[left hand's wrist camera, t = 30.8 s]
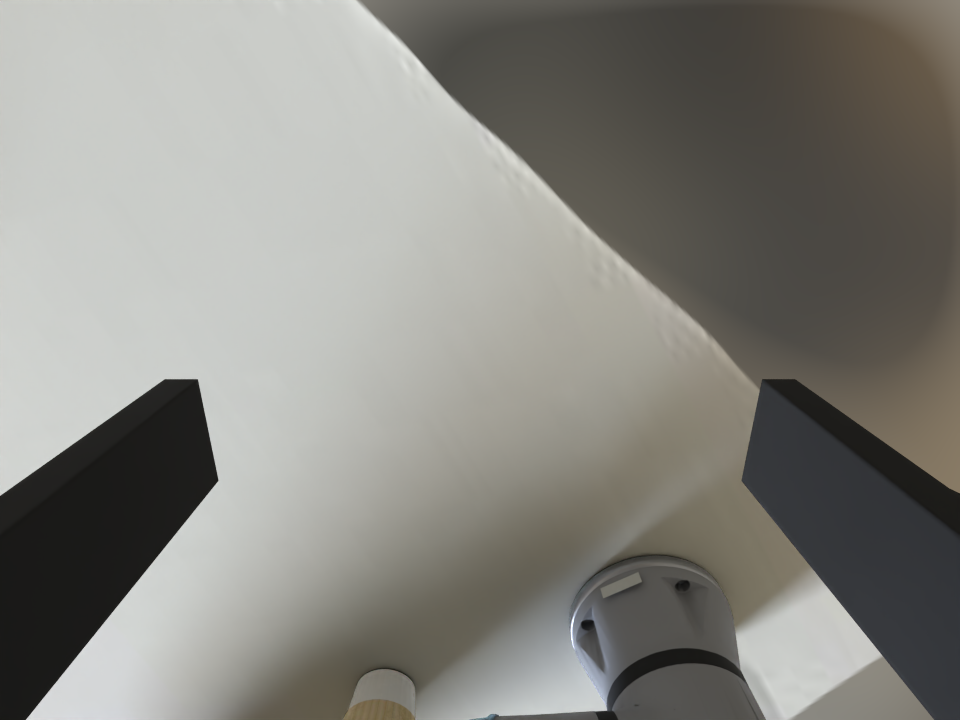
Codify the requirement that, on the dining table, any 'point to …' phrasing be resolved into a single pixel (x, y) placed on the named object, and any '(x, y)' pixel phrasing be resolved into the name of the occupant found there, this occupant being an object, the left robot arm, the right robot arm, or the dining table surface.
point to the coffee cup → (383, 697)
